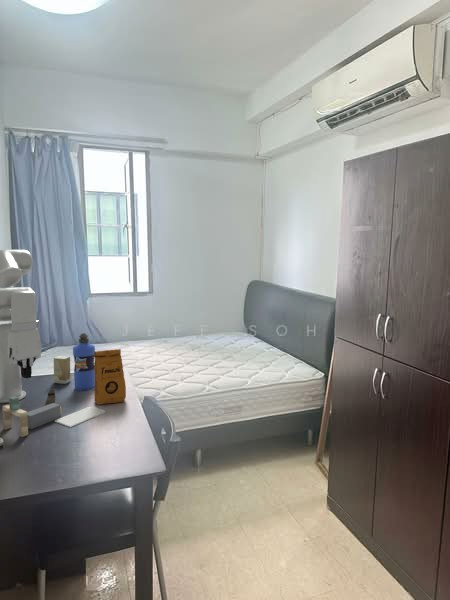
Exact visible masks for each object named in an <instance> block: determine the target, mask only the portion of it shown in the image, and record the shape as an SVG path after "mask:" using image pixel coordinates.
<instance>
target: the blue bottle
mask: <svg viewBox="0 0 450 600" xmlns="http://www.w3.org/2000/svg"><path fill="white" fill-rule="evenodd" d="M88 337H89V335H88V334H86V333H81V334H80V335H79V336H78V344H77V345H74V346H73V347H72V356H73V359H74V368H73V376H74V390H75V391H77V392H88V391H91V390H94V386H95V372H94V366H95V364H94V363H95V357H94V352H95V350H96V346H95V345H94V344H91V343H90V341H89V340H90V339H89V338H88Z"/></svg>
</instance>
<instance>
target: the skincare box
mask: <svg viewBox="0 0 450 600" xmlns="http://www.w3.org/2000/svg"><path fill="white" fill-rule="evenodd" d="M70 382H71V356H65V355H57V356H55V357H53V383H54V384H63V385H66V384H68V383H70Z"/></svg>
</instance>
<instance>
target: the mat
mask: <svg viewBox="0 0 450 600" xmlns="http://www.w3.org/2000/svg"><path fill="white" fill-rule="evenodd" d="M105 413H107V412H106V410H103V409H100V408H97V407H94V406H88V407H85V408H83V409H80V410H77V411H75V412H72V413H70V414H67V415H65V416H61V417H60V418H58V419H55V420H54V422H55V423H57V424H60V425H63V426H65V427H67V428H72V427H75V426H78V425H80V424H82V423H84V422H87V421H89V420H92V419H95V418H96V417H99V416H101V415H103V414H105Z"/></svg>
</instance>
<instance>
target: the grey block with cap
mask: <svg viewBox="0 0 450 600" xmlns="http://www.w3.org/2000/svg"><path fill="white" fill-rule="evenodd" d="M62 413H63V411H62V406H61V404H58V403H56V402H54V403H52V404H49V405H46V406H45V405H43V406H41V407H38V408H36V409H32V410H30V411H27V420H28V430H29V429H30V430H33V429H35V428H37V427H40V426H43V425H45V424H47V423H50V422H52V421H55V420H57V419H59V418H62Z"/></svg>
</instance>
